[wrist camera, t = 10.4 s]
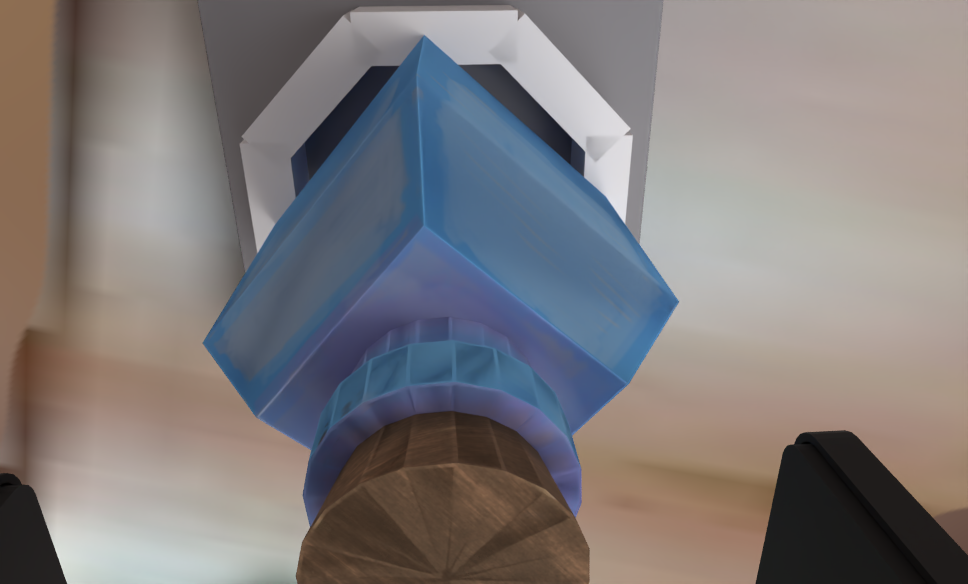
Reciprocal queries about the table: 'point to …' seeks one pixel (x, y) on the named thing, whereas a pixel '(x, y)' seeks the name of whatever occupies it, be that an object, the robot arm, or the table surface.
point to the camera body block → (381, 50)
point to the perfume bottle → (441, 339)
